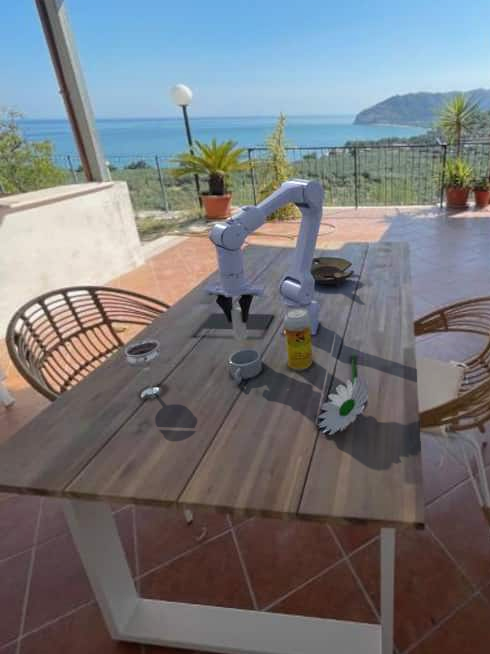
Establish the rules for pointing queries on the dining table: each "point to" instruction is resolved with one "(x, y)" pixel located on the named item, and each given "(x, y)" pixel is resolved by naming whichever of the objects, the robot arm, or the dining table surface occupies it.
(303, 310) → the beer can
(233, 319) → the white peg
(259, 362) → the steel mug
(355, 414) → the flower
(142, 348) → the wineglass
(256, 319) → the rubber mat
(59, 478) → the dining table surface
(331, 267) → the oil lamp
